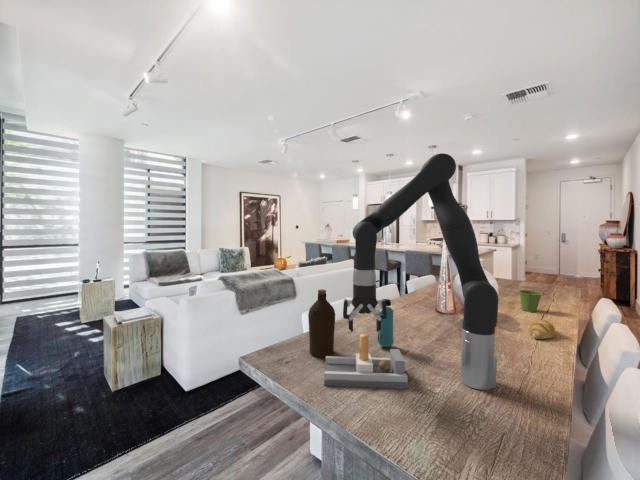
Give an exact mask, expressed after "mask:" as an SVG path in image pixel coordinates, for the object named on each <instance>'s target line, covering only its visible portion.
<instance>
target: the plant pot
mask: <svg viewBox="0 0 640 480" xmlns="http://www.w3.org/2000/svg"><path fill="white" fill-rule="evenodd" d="M518 292H519V296H520V306H521V310H522V311H525V312H527V313H536V312H537V311H538V308H539V304H540V299H541V298H542V295H543V293H542V292H540V291H535V290H529V289H528V290H527V289H520V290H518Z"/></svg>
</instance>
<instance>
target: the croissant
mask: <svg viewBox="0 0 640 480" xmlns="http://www.w3.org/2000/svg"><path fill="white" fill-rule="evenodd" d="M527 328H528V331H529V333H530V334H531V336H532V338H534V339H537V340H544V339H545V340H547V339H553V338H554V337H555V334H556V329H555V326H554V325H553V324H552V323H551V322H549V321H548V320H543V319H539V320H538V319H537V320H534V321H531V322H530V323H529V324H528V326H527Z"/></svg>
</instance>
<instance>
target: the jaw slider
mask: <svg viewBox="0 0 640 480" xmlns="http://www.w3.org/2000/svg"><path fill="white" fill-rule="evenodd" d="M369 337H370V335H369V334H367V333H360V334H359V352H355V357H356V362H355V364H356V372H366V373H373V363H372V359H371V357H372V356H371V353H369V348H370V347H369V344H370V343H369V342H370V341H369V340H370V339H369Z"/></svg>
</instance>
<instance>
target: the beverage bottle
mask: <svg viewBox="0 0 640 480" xmlns="http://www.w3.org/2000/svg"><path fill="white" fill-rule="evenodd" d="M383 299H384V300H385V301H386V311H387V318H386V319H382V320H381V330H379V332H377V344H378V345H379V346H381V347H384V348H385V347H386V348H387V347H388V348H389V347H393V344H394V335H395V334H394V310H393V309H392V307H390V306H391V305H392V302H391V300H390V299H388V298H383ZM377 313H378V314H379V315H381V314H382V307H379V308H378V309H377Z"/></svg>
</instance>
